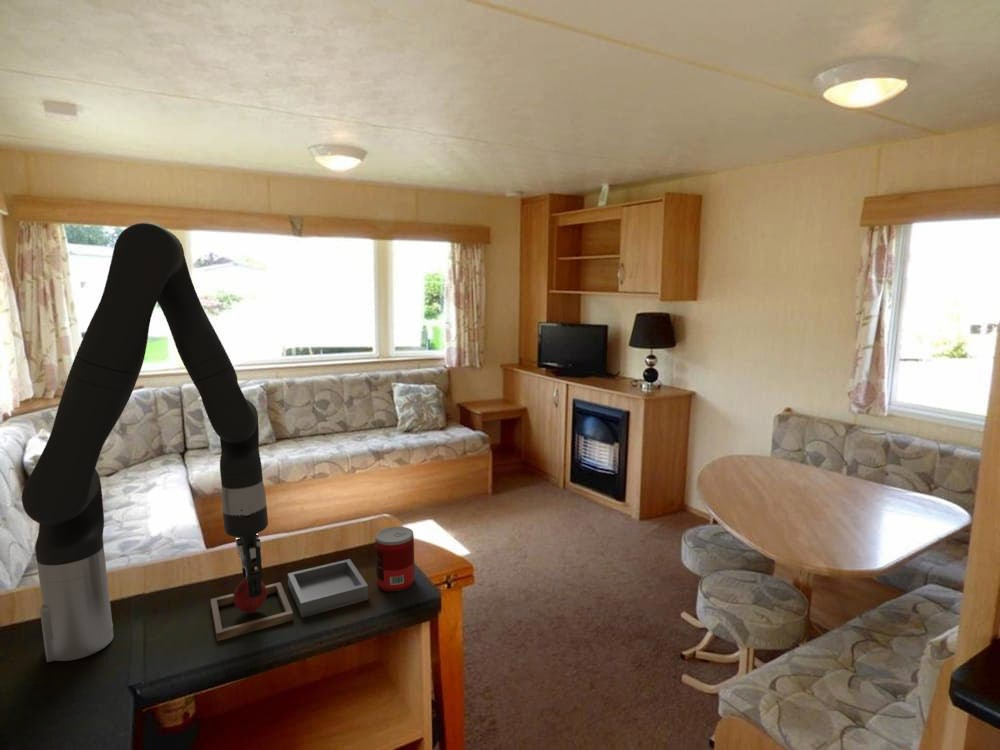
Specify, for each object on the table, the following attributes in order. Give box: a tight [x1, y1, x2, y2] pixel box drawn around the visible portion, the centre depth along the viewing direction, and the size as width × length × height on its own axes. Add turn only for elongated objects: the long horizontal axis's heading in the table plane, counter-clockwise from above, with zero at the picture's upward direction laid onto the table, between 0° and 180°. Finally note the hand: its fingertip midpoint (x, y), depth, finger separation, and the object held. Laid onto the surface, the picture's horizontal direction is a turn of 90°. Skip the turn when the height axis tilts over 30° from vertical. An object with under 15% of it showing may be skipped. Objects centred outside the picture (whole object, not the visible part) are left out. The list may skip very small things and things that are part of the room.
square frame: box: [210, 581, 294, 642], centre depth 112 cm, size 13×13×2 cm
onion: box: [233, 578, 268, 614], centre depth 111 cm, size 6×6×8 cm
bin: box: [287, 558, 370, 618], centre depth 119 cm, size 13×13×3 cm
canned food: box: [374, 526, 415, 592], centre depth 123 cm, size 8×8×11 cm
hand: (252, 585), depth 111 cm, fingers open, 8 cm apart
